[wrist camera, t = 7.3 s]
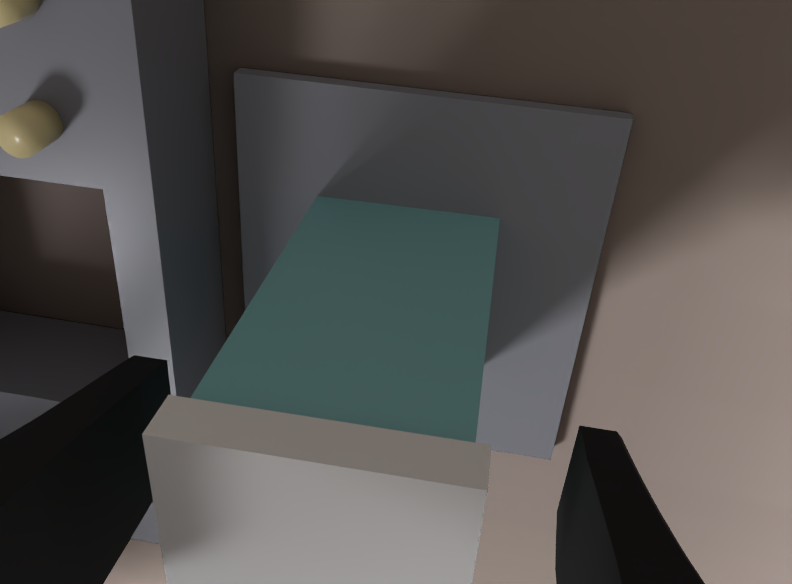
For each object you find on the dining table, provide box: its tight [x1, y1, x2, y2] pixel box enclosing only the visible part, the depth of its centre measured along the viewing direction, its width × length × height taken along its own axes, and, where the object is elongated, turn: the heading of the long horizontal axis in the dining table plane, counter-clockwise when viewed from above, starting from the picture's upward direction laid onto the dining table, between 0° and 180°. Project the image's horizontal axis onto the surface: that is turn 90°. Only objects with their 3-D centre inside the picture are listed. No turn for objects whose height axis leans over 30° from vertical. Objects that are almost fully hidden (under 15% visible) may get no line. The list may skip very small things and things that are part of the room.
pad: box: [233, 68, 633, 460], centre depth 17 cm, size 9×8×1 cm
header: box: [0, 0, 226, 544], centre depth 17 cm, size 14×8×4 cm, turn 176°
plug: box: [142, 196, 500, 584], centre depth 14 cm, size 4×4×8 cm
